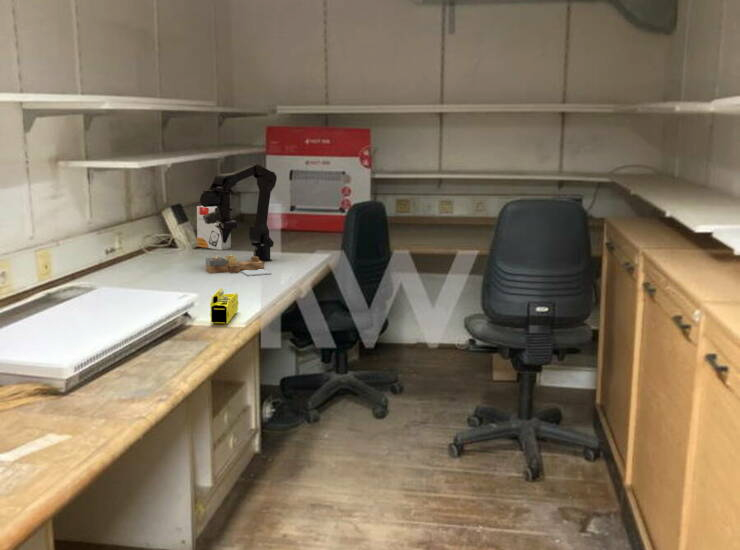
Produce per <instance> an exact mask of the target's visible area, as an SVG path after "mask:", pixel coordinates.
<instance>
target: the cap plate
mask: <svg viewBox="0 0 740 550" xmlns="http://www.w3.org/2000/svg"><path fill="white" fill-rule="evenodd" d="M206 264H208V265H209V266H220V265H226V259H225V257H224V258H223V257H222V256H214V257H206V258H205V265H206Z"/></svg>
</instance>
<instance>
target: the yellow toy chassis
mask: <svg viewBox="0 0 740 550" xmlns="http://www.w3.org/2000/svg"><path fill="white" fill-rule="evenodd" d="M209 304H210V305H209V306H210V315H209V316H210V324H212V323H213V324H215V325H225V324H227V325H228V324H229V322H230V321H231V320H232V319H234V317H235V316H236V313H237V312H238V311H239V295H238V292H235V293H224V289H223V288H222V287H220V288H219V289H218V290H217V291H216V292H215V293H213V295H212V296H211V299H210V303H209Z"/></svg>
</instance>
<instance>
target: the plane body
mask: <svg viewBox="0 0 740 550" xmlns="http://www.w3.org/2000/svg"><path fill="white" fill-rule="evenodd" d="M258 269H264V270H265V261H260V260H259V257H257V256H255V257H254V256H251V260H242V261H239V260H238V261H237V264H229V265H228V264H227V263H226V265H220V266H209V265H208V264H206V263H205V271H206V272H207V273H209V274H218V273H221V272H222V273H229V274H240V273H241V271H244V270H258ZM239 272H240V273H239ZM222 273H221V274H222Z"/></svg>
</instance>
